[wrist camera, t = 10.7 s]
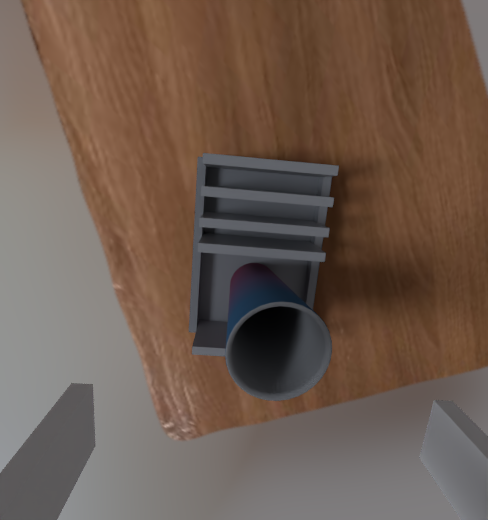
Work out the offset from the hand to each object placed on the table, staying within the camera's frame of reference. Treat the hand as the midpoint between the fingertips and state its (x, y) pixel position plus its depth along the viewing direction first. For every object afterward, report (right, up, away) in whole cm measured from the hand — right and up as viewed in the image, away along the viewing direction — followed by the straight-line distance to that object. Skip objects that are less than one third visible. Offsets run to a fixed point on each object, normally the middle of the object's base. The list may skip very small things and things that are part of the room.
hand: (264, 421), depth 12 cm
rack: (+1, +7, +23) cm, 24 cm away
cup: (0, +4, +23) cm, 23 cm away
